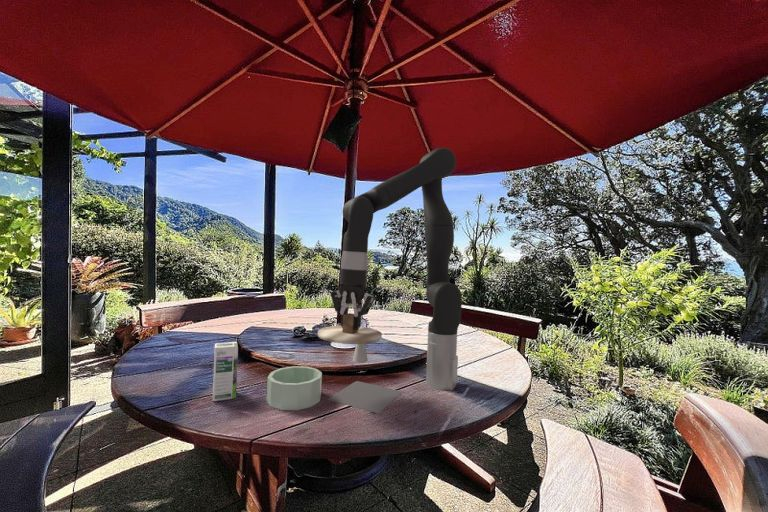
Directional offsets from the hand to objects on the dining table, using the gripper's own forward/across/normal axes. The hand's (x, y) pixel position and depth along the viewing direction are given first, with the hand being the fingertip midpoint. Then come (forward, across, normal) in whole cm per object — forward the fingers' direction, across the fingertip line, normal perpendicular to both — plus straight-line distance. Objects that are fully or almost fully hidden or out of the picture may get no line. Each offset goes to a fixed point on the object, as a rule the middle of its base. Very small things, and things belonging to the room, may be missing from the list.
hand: (350, 328), depth 94 cm
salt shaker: (+20, +7, -21) cm, 30 cm away
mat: (+20, -5, -4) cm, 21 cm away
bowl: (+20, +11, +8) cm, 25 cm away
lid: (+2, 0, 0) cm, 2 cm away
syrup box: (+21, +29, +16) cm, 39 cm away
